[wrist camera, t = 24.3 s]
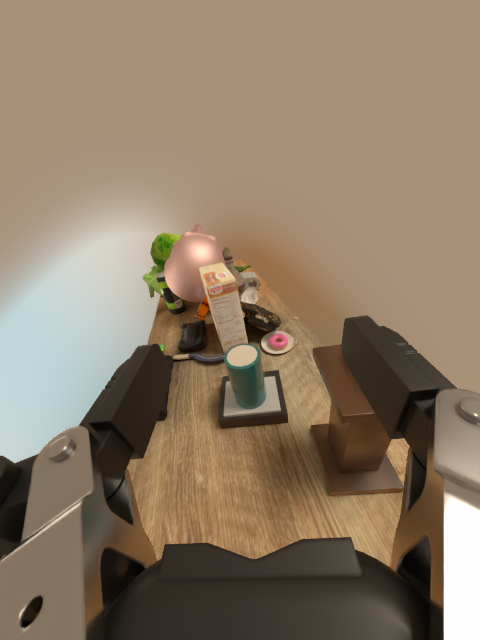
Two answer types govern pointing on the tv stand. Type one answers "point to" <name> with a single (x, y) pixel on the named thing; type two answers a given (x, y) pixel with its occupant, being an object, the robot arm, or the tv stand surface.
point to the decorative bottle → (233, 269)
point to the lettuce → (163, 248)
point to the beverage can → (170, 296)
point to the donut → (277, 342)
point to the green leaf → (241, 267)
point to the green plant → (153, 280)
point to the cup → (246, 375)
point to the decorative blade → (199, 357)
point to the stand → (351, 434)
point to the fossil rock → (259, 317)
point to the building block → (202, 309)
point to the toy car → (192, 336)
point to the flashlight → (164, 407)
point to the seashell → (250, 295)
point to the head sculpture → (191, 263)
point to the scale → (264, 414)
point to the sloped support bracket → (248, 277)
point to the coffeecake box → (224, 304)
